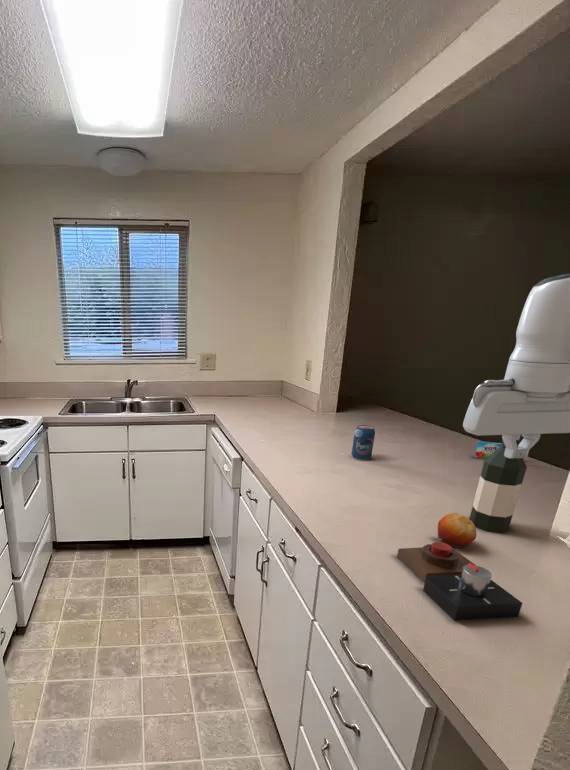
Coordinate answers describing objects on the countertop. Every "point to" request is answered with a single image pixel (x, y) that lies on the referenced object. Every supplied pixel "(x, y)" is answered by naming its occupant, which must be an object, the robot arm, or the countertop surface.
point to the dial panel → (471, 600)
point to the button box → (432, 562)
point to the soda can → (363, 442)
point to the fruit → (456, 530)
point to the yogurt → (485, 449)
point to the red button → (441, 549)
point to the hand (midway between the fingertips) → (515, 457)
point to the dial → (474, 580)
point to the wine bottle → (498, 491)
